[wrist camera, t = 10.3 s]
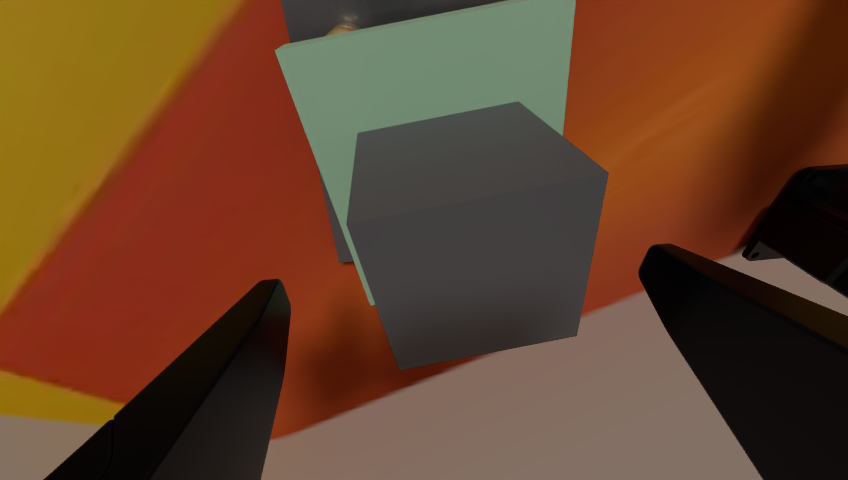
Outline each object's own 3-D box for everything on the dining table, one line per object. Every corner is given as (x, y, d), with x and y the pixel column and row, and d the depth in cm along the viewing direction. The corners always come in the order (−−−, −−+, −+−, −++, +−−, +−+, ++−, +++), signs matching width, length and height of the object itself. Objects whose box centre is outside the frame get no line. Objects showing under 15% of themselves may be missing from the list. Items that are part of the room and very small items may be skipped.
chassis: (563, -29, 12) (618, -35, 10) (516, 236, 20) (539, 277, 17) (282, -24, 12) (253, -28, 9) (340, 251, 19) (334, 296, 16)
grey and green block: (557, -10, 10) (743, -7, 5) (538, 253, 16) (613, 374, 11) (284, 44, 10) (191, 102, 5) (370, 286, 16) (368, 421, 11)
